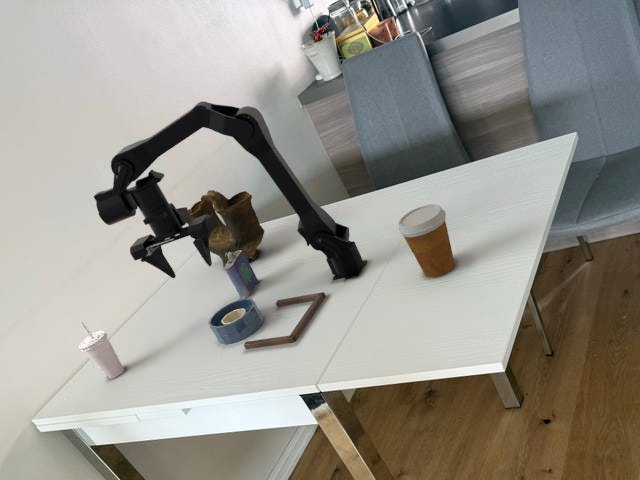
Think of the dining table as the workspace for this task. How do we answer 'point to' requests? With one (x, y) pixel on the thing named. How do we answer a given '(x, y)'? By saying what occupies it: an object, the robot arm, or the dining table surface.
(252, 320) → the blue-grey round ring piece
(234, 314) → the small bowl
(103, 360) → the smoothie
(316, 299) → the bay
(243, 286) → the flask
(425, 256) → the disposable coffee cup
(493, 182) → the dining table surface
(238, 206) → the pottery vessel
